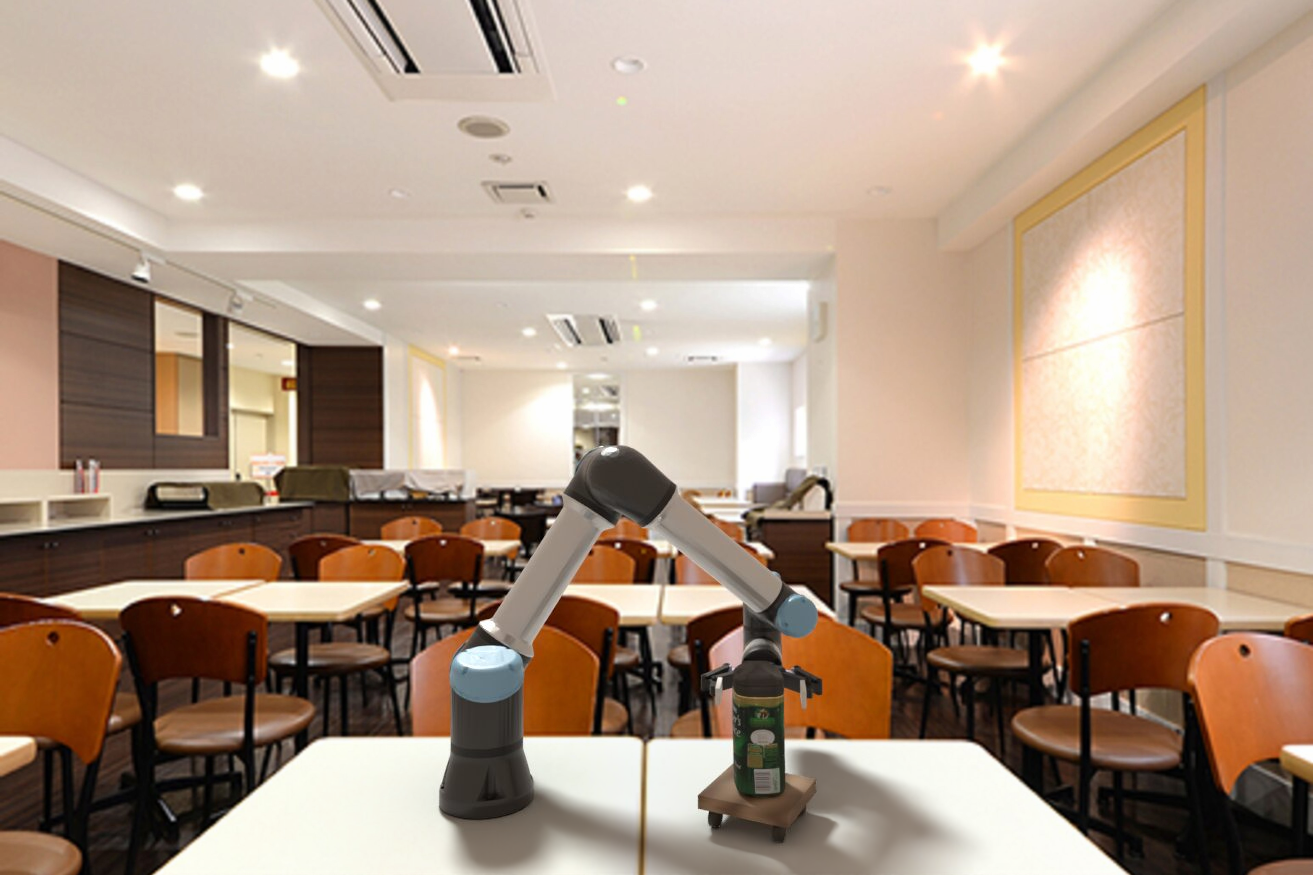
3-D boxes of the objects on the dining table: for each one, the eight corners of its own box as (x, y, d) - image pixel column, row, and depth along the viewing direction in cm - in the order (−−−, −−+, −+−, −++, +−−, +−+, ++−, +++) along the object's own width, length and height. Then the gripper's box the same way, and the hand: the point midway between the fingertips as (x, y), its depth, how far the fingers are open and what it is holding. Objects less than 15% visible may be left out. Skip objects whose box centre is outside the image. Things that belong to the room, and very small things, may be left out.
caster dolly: (697, 828, 118) (697, 794, 118) (733, 793, 131) (733, 763, 131) (788, 849, 112) (788, 813, 112) (816, 810, 124) (816, 778, 124)
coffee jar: (731, 773, 126) (730, 656, 127) (781, 774, 126) (780, 656, 127) (734, 799, 117) (733, 672, 117) (788, 800, 116) (787, 672, 117)
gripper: (831, 686, 145) (841, 725, 124) (694, 682, 148) (682, 719, 127) (830, 645, 145) (840, 677, 124) (694, 642, 148) (682, 672, 127)
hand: (760, 698), depth 126 cm, fingers open, 13 cm apart
